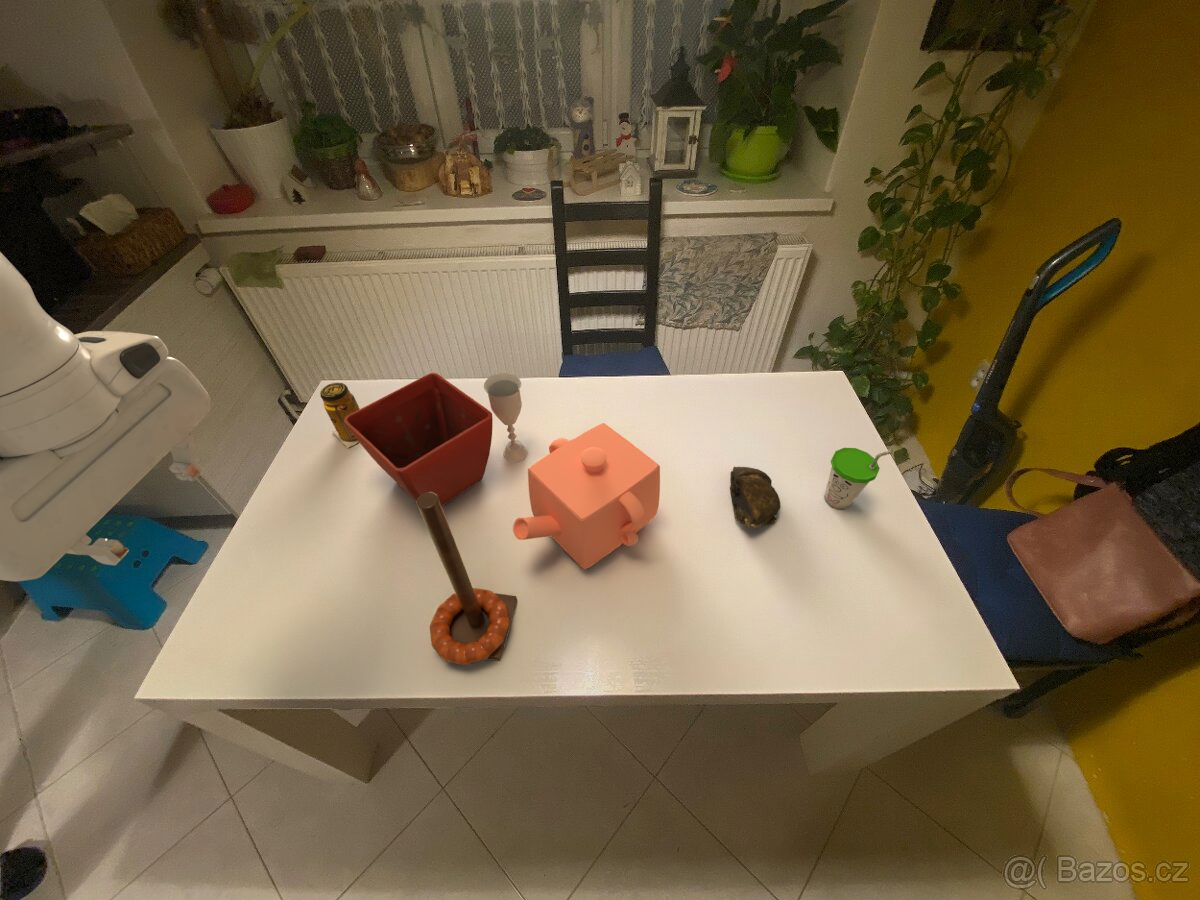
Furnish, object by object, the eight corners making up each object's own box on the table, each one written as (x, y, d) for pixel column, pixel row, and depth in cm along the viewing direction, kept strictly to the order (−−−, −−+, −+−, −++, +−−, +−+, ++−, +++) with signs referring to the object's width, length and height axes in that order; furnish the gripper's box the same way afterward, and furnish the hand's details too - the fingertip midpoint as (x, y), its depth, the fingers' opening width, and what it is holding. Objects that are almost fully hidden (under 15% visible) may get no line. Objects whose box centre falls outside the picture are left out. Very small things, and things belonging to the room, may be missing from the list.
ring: (494, 673, 73) (491, 666, 71) (420, 658, 75) (414, 650, 73) (519, 600, 81) (516, 592, 79) (451, 588, 83) (447, 579, 81)
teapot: (565, 620, 80) (557, 559, 67) (488, 532, 92) (468, 466, 79) (673, 533, 92) (684, 466, 79) (592, 464, 103) (590, 397, 91)
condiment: (332, 432, 111) (309, 389, 103) (368, 413, 115) (349, 371, 107) (347, 449, 108) (325, 406, 99) (384, 429, 112) (365, 386, 103)
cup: (806, 497, 97) (831, 441, 86) (831, 478, 100) (858, 422, 89) (842, 523, 93) (873, 468, 82) (867, 502, 96) (899, 447, 85)
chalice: (537, 457, 105) (527, 389, 92) (507, 470, 103) (492, 402, 90) (523, 436, 110) (511, 368, 97) (493, 448, 107) (477, 380, 94)
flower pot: (452, 432, 111) (433, 369, 99) (508, 477, 101) (494, 414, 89) (372, 480, 101) (341, 417, 89) (426, 535, 92) (398, 473, 80)
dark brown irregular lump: (718, 469, 102) (732, 445, 97) (760, 477, 103) (776, 453, 98) (730, 536, 90) (747, 513, 85) (777, 544, 91) (796, 521, 86)
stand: (500, 661, 76) (454, 542, 53) (436, 652, 77) (365, 531, 54) (517, 600, 83) (483, 471, 60) (458, 592, 84) (403, 463, 61)
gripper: (-81, 518, 29) (93, 625, 39) (174, 326, 43) (255, 440, 53) (-171, 506, 30) (23, 614, 40) (109, 321, 44) (200, 435, 54)
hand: (157, 513), depth 47 cm, fingers open, 8 cm apart
